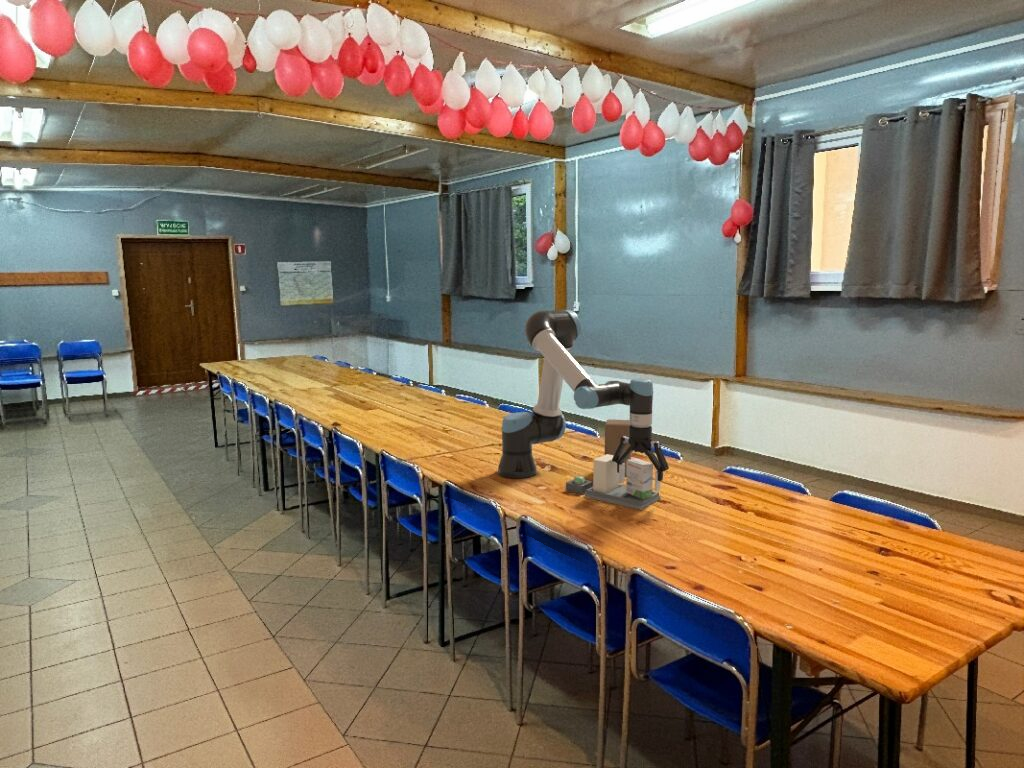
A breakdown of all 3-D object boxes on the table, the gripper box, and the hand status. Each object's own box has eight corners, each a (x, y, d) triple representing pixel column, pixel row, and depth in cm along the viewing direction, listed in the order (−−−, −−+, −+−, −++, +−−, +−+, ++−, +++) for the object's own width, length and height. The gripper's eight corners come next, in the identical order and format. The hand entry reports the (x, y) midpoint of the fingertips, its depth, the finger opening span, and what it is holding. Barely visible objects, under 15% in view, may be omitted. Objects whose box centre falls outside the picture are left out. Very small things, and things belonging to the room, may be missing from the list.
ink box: (653, 496, 228) (653, 463, 226) (641, 499, 225) (642, 465, 223) (636, 490, 235) (636, 457, 233) (625, 492, 232) (625, 459, 231)
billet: (593, 492, 236) (593, 459, 234) (606, 486, 243) (607, 454, 241) (605, 495, 233) (606, 462, 231) (618, 489, 240) (619, 456, 238)
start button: (572, 488, 243) (572, 477, 242) (577, 485, 246) (577, 475, 245) (580, 490, 241) (580, 479, 240) (586, 487, 243) (586, 477, 243)
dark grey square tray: (565, 490, 243) (565, 482, 242) (576, 485, 248) (576, 478, 248) (582, 494, 238) (582, 486, 238) (592, 489, 244) (592, 481, 243)
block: (630, 475, 260) (631, 425, 257) (604, 474, 262) (604, 424, 259) (630, 468, 270) (631, 419, 267) (605, 467, 272) (606, 418, 269)
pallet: (584, 496, 236) (584, 490, 236) (605, 486, 247) (605, 480, 246) (640, 509, 222) (641, 502, 222) (660, 498, 233) (660, 492, 233)
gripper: (602, 422, 231) (602, 481, 234) (669, 432, 215) (668, 496, 219) (614, 418, 237) (613, 476, 240) (680, 428, 221) (678, 490, 225)
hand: (639, 486), depth 230 cm, fingers open, 13 cm apart
